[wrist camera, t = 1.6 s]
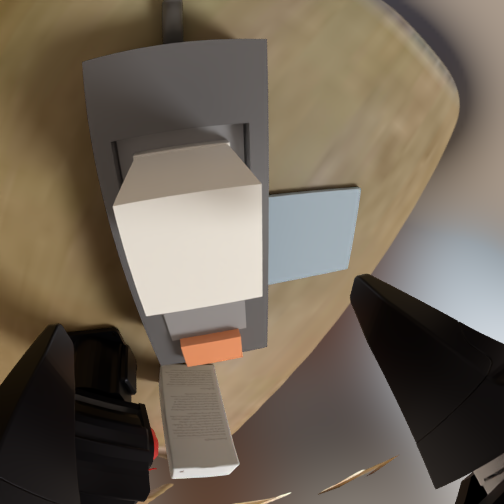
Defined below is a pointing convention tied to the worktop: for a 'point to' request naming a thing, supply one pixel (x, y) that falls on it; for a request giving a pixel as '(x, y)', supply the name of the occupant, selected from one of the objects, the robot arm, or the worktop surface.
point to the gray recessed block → (180, 133)
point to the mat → (311, 232)
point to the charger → (191, 227)
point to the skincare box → (195, 422)
